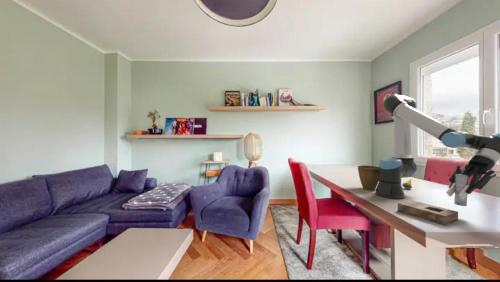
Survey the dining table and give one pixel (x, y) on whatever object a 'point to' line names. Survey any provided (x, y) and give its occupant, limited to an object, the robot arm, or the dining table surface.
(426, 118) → the robot arm
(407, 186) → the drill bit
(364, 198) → the dining table surface
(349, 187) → the dining table surface
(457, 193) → the metal peg
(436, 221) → the tool block
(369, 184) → the plant pot
